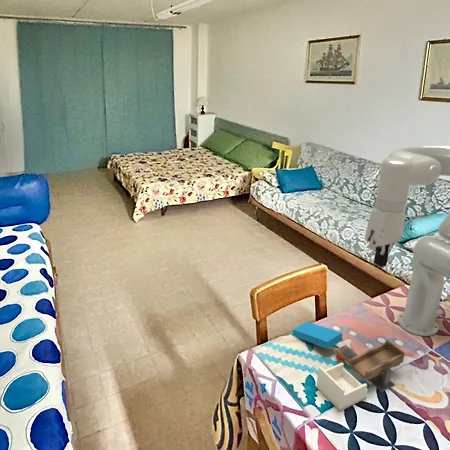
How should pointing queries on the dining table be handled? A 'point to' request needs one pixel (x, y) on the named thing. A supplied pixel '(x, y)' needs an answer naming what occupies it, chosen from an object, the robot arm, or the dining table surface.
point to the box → (334, 392)
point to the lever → (319, 336)
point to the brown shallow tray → (372, 359)
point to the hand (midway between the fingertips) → (379, 264)
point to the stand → (382, 380)
